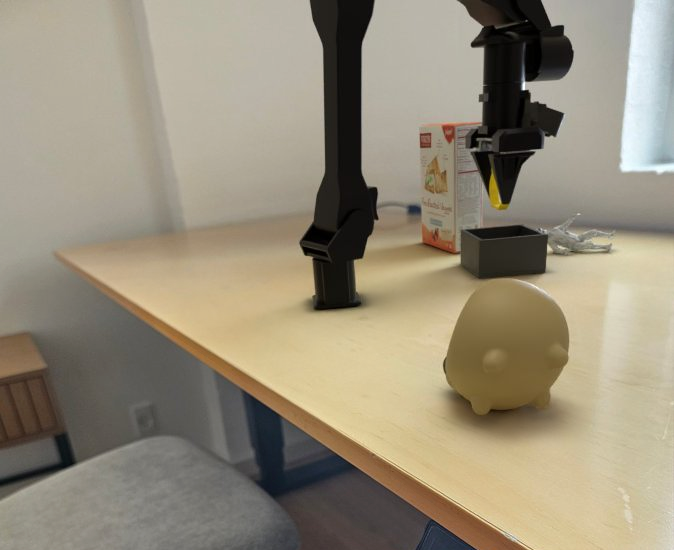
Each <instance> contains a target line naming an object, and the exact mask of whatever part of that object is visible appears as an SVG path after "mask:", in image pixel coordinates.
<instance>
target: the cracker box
mask: <svg viewBox="0 0 674 550" xmlns="http://www.w3.org/2000/svg"><path fill="white" fill-rule="evenodd" d="M478 126H482V121H468V122H467V121H450V122H438V123H426V124H421V125H419V161H420V162H419V163H420V164H419V165H420V168H419V169H420V205H421V207H420V208H421V241H422V243H423V244H427V245H429V246H432V247H435V248H438V249H441V250H444V251H447V252H450V253H452V254H461V230H464V229H475V228H483V191H484V187H483V186H484V184H483V181H482V178H481V176H480V174H479V171H478V169H477V166H476V164H475V162H474V159H473V157H472V155H471V153H470V152H472V151H476V148H473V149H466V148H465V140H466V135H467V133H468V132H469V131H470V130H471V129H474V128H478Z"/></svg>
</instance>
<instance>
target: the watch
mask: <svg viewBox="0 0 674 550" xmlns="http://www.w3.org/2000/svg"><path fill="white" fill-rule="evenodd" d="M491 172H492V174H491V178H490V185H489V196H490V199H489V202H490V205H491V208H493V209H495V210H496V211H504V210H508V208H509V206H510V204H502V202H501V199H500V196H499V192H498V189H497V185H496V181H495V178H494V174H493V170H491Z"/></svg>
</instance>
